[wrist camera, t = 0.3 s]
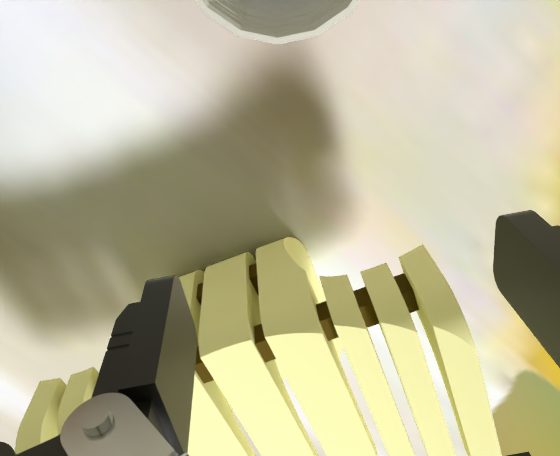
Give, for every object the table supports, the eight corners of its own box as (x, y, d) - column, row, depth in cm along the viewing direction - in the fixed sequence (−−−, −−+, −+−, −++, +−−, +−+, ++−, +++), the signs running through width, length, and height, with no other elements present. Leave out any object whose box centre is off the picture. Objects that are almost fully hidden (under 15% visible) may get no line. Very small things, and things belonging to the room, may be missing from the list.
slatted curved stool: (383, 184, 43) (467, 312, 28) (423, 316, 51) (506, 475, 35) (77, 299, 47) (-2, 471, 31) (157, 407, 54) (126, 590, 38)
